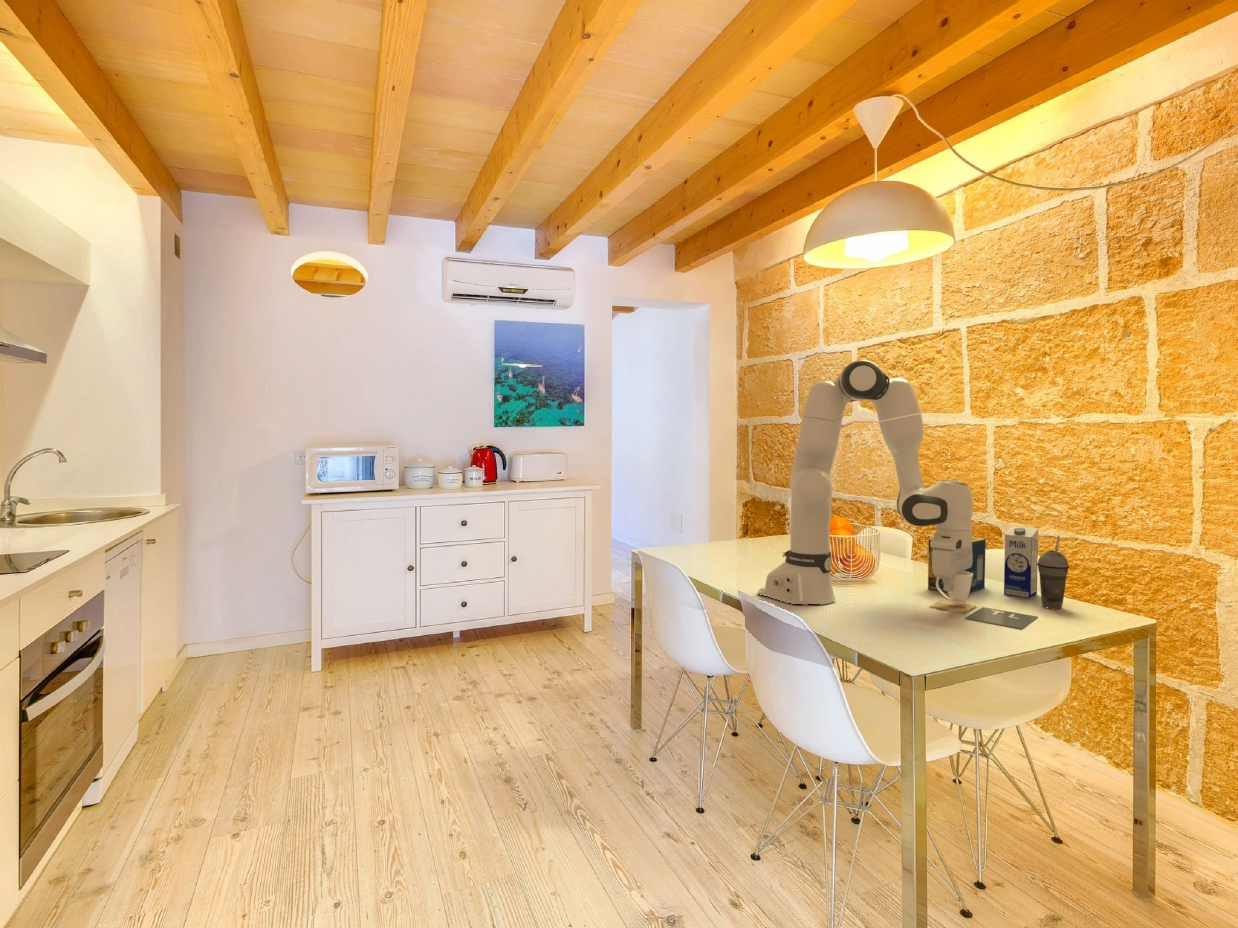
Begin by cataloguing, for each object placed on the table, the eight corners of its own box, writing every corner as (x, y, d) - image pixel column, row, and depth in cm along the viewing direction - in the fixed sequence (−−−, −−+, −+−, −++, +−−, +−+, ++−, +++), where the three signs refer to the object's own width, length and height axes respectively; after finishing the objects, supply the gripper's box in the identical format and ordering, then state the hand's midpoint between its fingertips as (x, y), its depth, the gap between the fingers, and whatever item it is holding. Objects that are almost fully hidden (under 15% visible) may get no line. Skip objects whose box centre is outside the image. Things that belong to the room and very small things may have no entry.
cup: (963, 606, 172) (963, 576, 172) (928, 598, 181) (929, 569, 181) (978, 602, 176) (978, 573, 176) (943, 595, 184) (944, 567, 184)
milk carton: (1037, 594, 190) (1038, 527, 189) (1030, 598, 186) (1031, 530, 185) (1010, 590, 196) (1011, 525, 195) (1003, 594, 191) (1004, 527, 190)
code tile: (964, 618, 168) (964, 617, 168) (983, 608, 177) (983, 606, 177) (1021, 629, 158) (1021, 628, 158) (1037, 617, 168) (1037, 616, 168)
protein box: (927, 589, 199) (927, 539, 198) (951, 581, 208) (952, 534, 207) (961, 596, 190) (962, 544, 189) (985, 587, 199) (986, 538, 199)
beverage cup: (1042, 601, 182) (1044, 531, 181) (1072, 607, 177) (1074, 535, 175) (1031, 606, 178) (1033, 534, 177) (1061, 612, 172) (1063, 538, 171)
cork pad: (929, 607, 178) (929, 605, 178) (942, 601, 184) (942, 599, 184) (964, 614, 172) (964, 612, 172) (976, 607, 178) (976, 605, 178)
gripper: (955, 533, 187) (954, 580, 187) (927, 542, 173) (926, 592, 173) (979, 535, 182) (978, 583, 183) (952, 545, 168) (951, 597, 169)
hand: (952, 588), depth 178 cm, fingers closed on cup, 6 cm apart
